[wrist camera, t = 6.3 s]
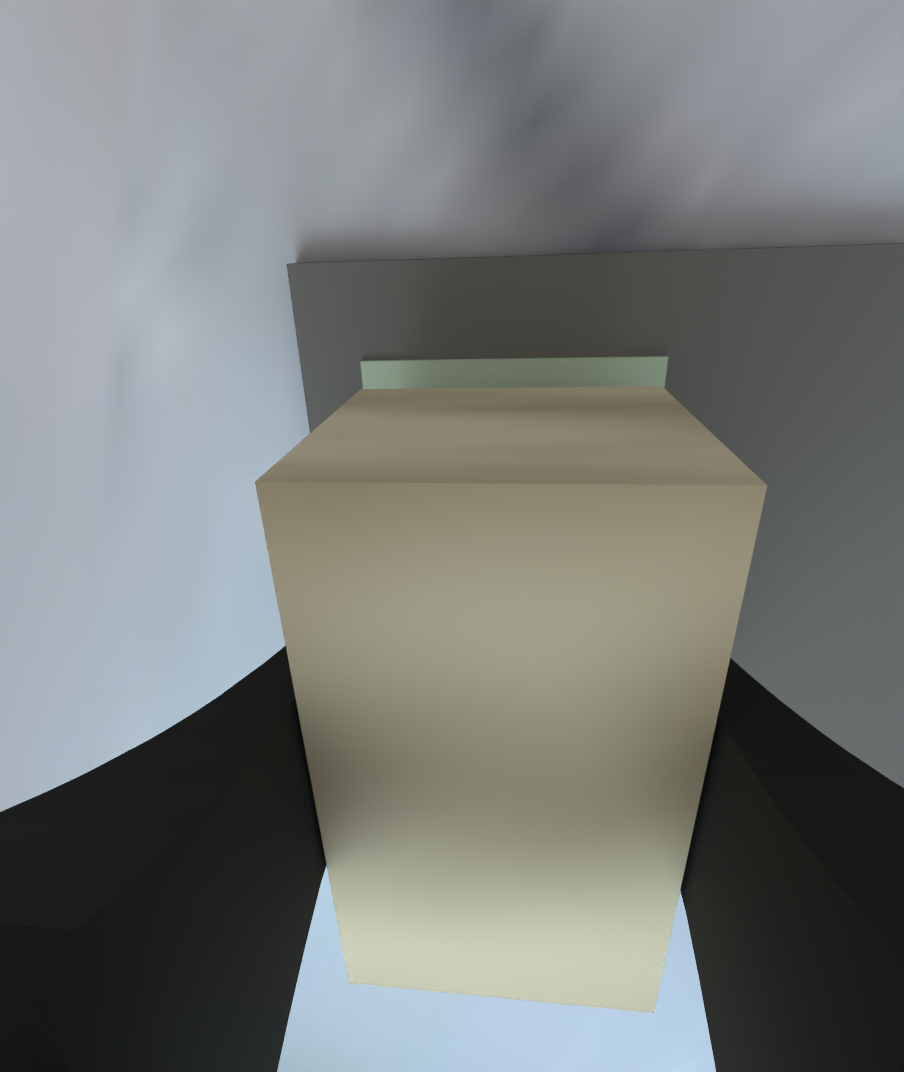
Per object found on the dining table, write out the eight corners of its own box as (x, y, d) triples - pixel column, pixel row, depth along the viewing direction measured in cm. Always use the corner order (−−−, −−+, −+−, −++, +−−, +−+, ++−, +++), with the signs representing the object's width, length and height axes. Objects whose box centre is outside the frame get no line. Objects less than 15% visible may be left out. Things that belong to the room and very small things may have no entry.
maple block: (612, 784, 13) (653, 1013, 9) (397, 771, 14) (349, 982, 10) (661, 386, 10) (767, 484, 6) (360, 389, 10) (255, 482, 6)
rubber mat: (1586, 220, 9) (1642, 219, 8) (1103, 897, 16) (1120, 916, 15) (294, 263, 11) (284, 263, 10) (371, 845, 18) (368, 860, 17)
